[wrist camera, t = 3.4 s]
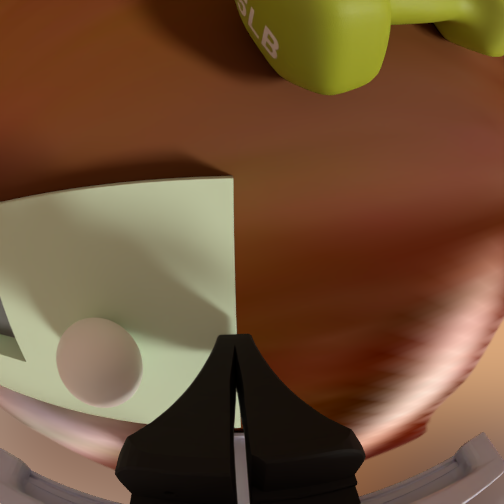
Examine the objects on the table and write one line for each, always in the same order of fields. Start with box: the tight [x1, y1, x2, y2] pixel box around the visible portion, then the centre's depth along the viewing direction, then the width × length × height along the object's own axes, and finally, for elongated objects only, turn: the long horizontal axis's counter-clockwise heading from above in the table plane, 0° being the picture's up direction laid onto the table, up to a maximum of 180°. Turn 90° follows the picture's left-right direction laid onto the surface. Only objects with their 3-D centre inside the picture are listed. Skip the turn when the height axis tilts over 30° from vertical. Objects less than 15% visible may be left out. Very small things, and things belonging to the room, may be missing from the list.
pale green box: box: [0, 176, 241, 428], centre depth 9 cm, size 14×24×10 cm, turn 90°
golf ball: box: [56, 318, 143, 408], centre depth 10 cm, size 4×4×4 cm
